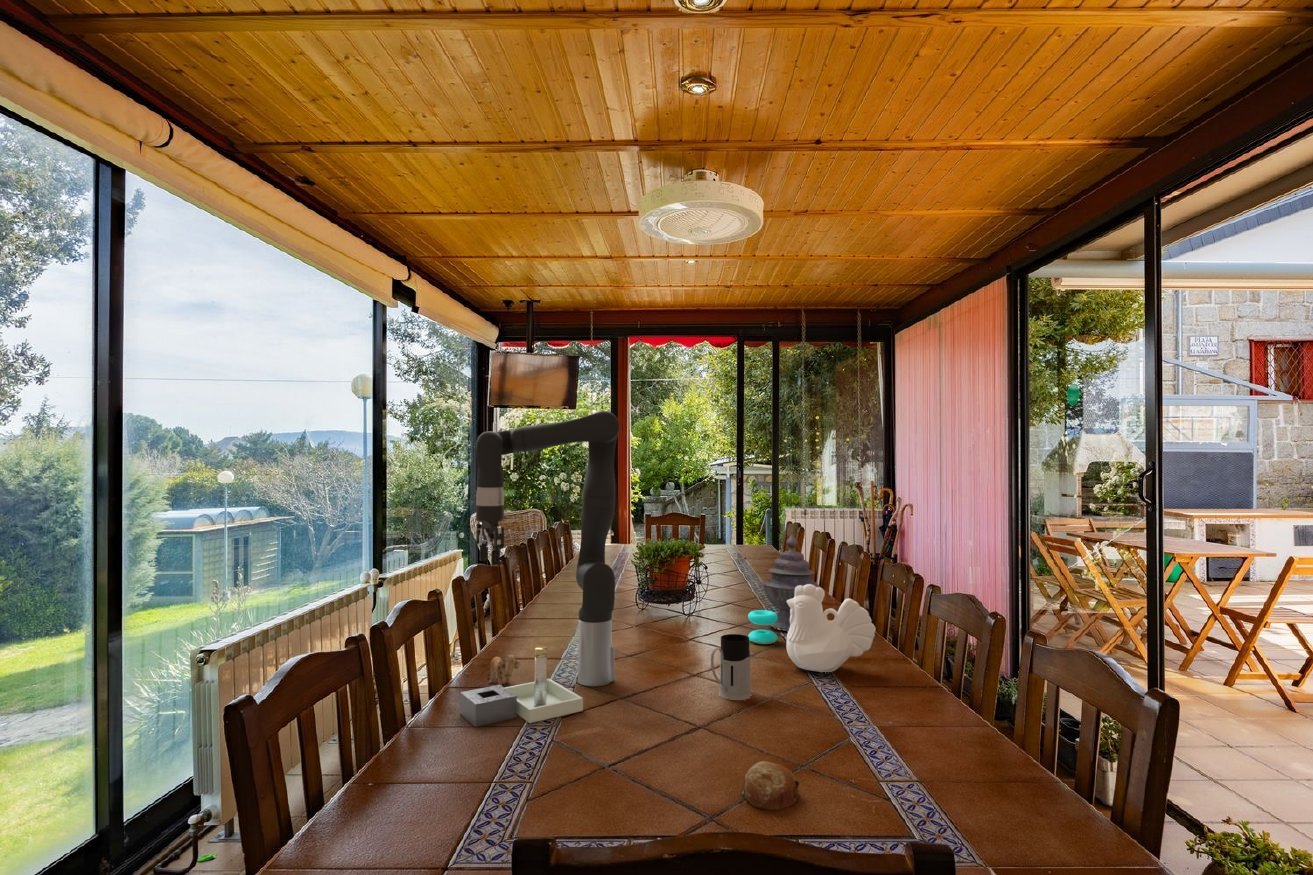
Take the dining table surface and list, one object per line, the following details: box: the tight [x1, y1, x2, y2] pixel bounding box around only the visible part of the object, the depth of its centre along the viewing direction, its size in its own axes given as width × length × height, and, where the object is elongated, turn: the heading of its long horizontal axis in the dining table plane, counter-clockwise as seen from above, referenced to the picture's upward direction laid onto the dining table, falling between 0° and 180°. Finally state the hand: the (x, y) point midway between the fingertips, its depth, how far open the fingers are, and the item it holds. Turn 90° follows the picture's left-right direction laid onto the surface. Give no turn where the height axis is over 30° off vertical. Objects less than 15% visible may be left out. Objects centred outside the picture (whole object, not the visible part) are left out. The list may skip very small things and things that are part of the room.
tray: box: [504, 678, 584, 724], centre depth 172 cm, size 14×18×4 cm
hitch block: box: [459, 684, 518, 728], centre depth 165 cm, size 10×10×6 cm
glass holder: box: [710, 633, 753, 701], centre depth 181 cm, size 9×14×15 cm, turn 137°
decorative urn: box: [762, 533, 820, 630], centre depth 256 cm, size 20×20×35 cm
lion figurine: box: [487, 654, 521, 686], centre depth 191 cm, size 15×5×9 cm, turn 42°
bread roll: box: [741, 760, 800, 811], centre depth 128 cm, size 10×10×8 cm
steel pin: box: [533, 646, 548, 707], centre depth 172 cm, size 3×3×14 cm
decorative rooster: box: [785, 584, 876, 674], centre depth 204 cm, size 25×16×25 cm, turn 65°
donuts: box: [747, 609, 779, 643], centre depth 236 cm, size 10×10×10 cm
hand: (489, 562), depth 192 cm, fingers open, 8 cm apart
